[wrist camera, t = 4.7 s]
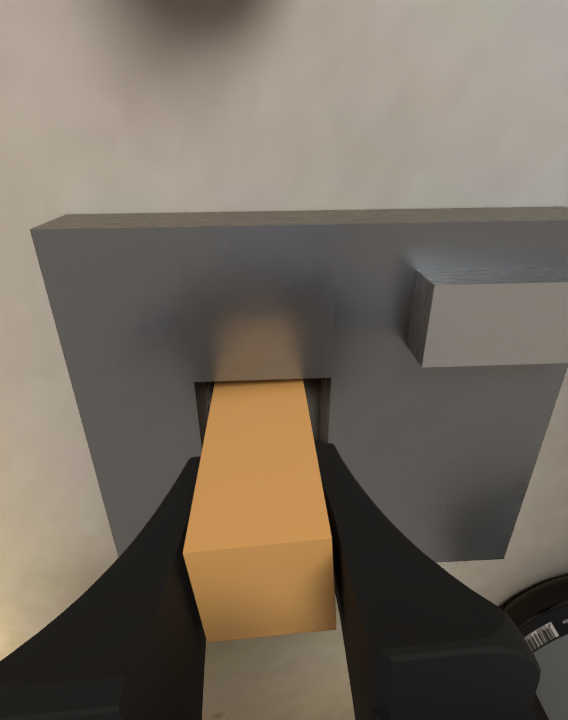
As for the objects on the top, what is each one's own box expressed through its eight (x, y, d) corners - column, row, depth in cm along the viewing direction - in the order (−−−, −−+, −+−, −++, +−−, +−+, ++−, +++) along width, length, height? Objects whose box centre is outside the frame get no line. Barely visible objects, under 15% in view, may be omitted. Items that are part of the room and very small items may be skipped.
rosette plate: (563, 206, 14) (660, 229, 11) (478, 515, 21) (522, 591, 17) (65, 214, 14) (-1, 241, 10) (138, 530, 20) (113, 613, 17)
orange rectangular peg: (301, 373, 15) (331, 538, 9) (306, 442, 16) (336, 629, 10) (215, 381, 15) (182, 553, 9) (227, 450, 16) (207, 642, 10)
